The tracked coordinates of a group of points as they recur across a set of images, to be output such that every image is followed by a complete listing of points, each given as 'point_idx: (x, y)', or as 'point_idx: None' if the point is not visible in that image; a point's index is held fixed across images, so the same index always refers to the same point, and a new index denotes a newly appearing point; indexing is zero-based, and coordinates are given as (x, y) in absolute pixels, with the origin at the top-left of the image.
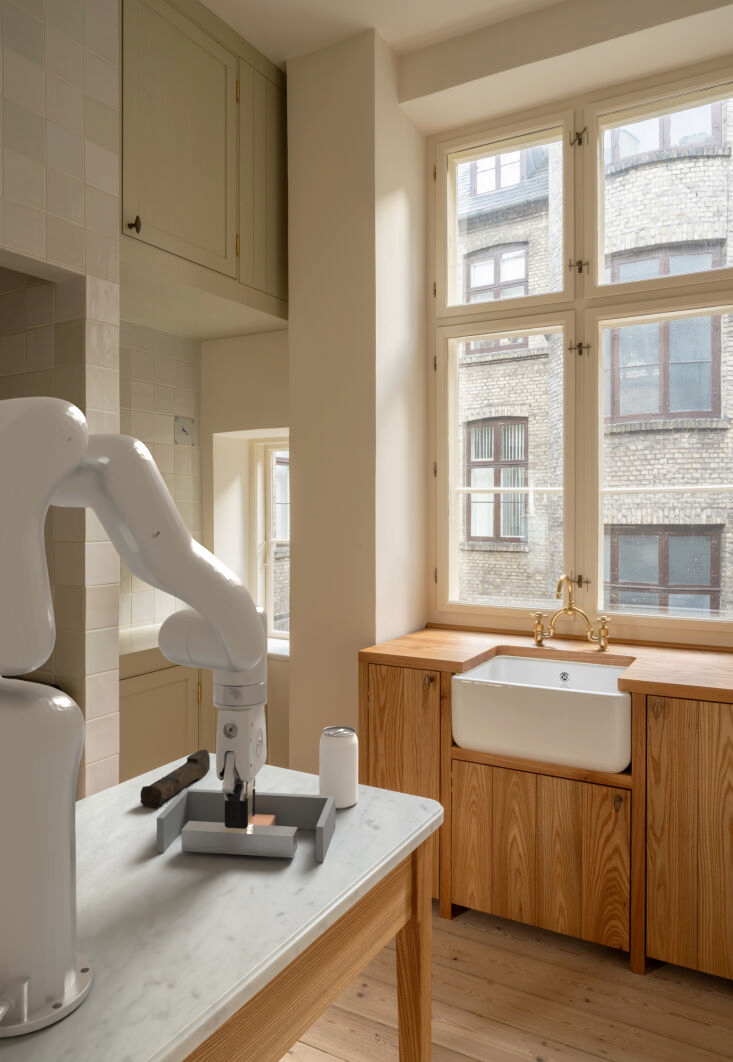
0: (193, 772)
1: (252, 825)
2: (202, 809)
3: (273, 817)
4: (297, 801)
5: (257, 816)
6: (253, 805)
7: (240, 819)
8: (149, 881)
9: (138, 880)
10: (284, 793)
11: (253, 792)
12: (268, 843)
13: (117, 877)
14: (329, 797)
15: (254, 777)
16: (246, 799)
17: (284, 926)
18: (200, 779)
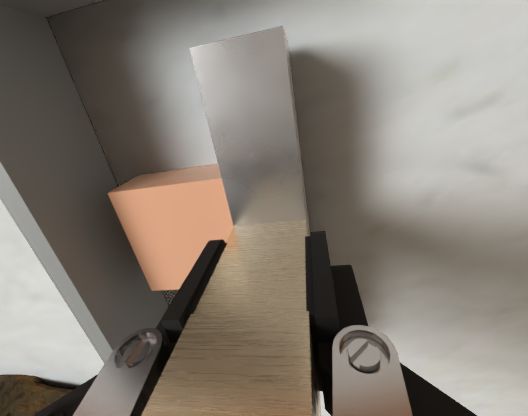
0: (35, 404)
1: (241, 225)
2: None
3: (125, 191)
4: (10, 138)
5: (142, 237)
6: (209, 266)
7: (347, 271)
8: (433, 334)
9: (430, 350)
10: (3, 202)
11: (184, 312)
12: (297, 137)
13: None
14: None
15: (108, 386)
16: (324, 323)
17: None
18: (33, 376)
